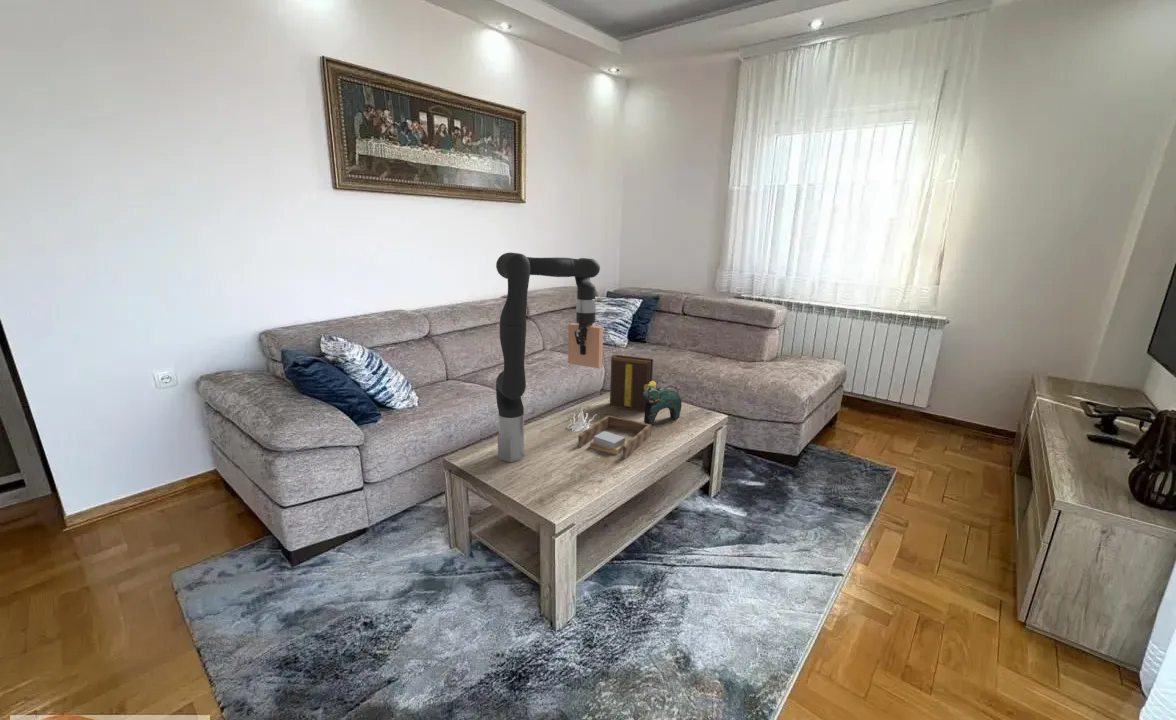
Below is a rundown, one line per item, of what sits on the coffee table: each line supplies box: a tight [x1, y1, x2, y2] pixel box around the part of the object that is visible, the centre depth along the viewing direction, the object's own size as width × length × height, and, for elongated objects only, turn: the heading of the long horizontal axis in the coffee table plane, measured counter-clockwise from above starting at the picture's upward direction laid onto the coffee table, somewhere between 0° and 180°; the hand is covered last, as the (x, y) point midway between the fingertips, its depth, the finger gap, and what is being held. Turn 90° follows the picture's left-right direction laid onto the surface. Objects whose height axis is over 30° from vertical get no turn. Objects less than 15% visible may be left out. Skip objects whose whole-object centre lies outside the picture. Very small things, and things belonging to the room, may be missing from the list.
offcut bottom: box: [589, 440, 628, 456], centre depth 194 cm, size 9×12×2 cm
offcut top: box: [593, 430, 626, 449], centre depth 193 cm, size 7×10×2 cm
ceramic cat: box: [643, 379, 683, 426], centre depth 218 cm, size 20×6×20 cm, turn 119°
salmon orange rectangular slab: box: [567, 322, 604, 369], centre depth 195 cm, size 3×14×16 cm, turn 61°
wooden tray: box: [577, 414, 653, 460], centre depth 199 cm, size 25×20×5 cm
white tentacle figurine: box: [567, 408, 598, 433], centre depth 211 cm, size 9×12×9 cm
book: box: [609, 354, 657, 412], centre depth 233 cm, size 22×8×25 cm, turn 68°
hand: (585, 353), depth 196 cm, fingers closed on salmon orange rectangular slab, 3 cm apart
